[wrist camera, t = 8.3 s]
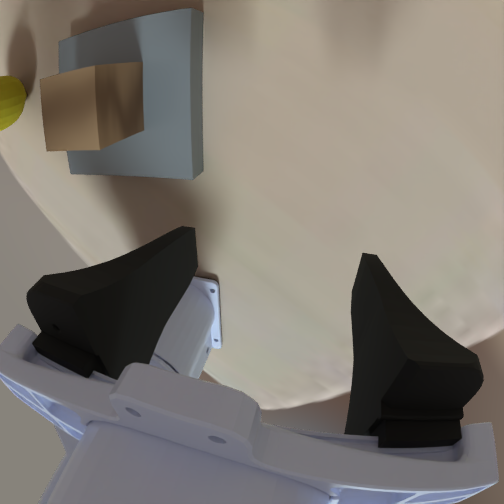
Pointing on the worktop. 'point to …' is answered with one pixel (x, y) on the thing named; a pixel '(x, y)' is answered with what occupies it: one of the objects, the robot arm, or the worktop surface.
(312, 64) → the worktop surface
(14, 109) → the lemon
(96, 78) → the walnut block
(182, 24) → the slate tile
